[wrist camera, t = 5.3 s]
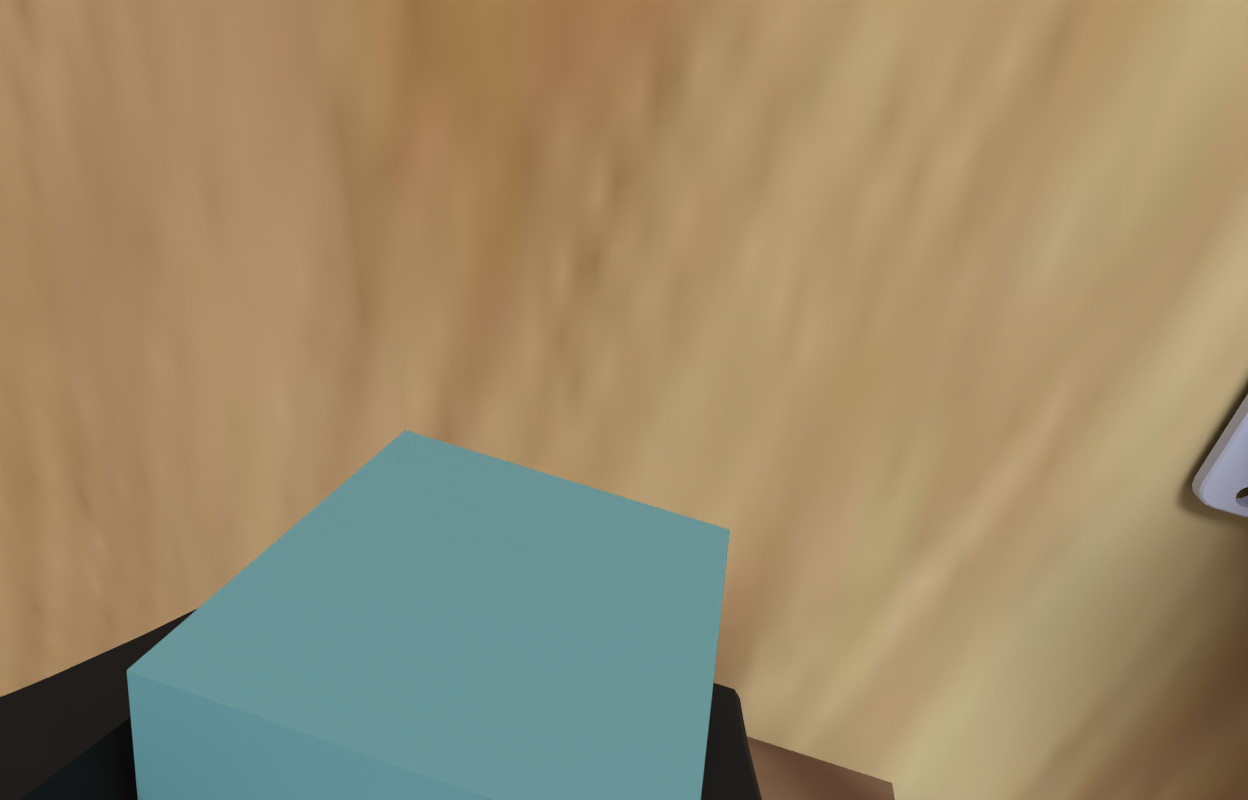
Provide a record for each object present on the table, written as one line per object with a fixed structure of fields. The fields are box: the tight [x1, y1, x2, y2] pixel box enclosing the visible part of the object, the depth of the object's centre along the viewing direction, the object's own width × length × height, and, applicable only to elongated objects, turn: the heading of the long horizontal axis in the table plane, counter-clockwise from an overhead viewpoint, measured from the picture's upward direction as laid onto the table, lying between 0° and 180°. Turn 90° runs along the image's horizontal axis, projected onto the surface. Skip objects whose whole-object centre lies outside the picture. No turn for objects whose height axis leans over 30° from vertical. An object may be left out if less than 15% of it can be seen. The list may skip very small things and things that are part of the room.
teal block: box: [127, 430, 730, 800], centre depth 9 cm, size 5×5×5 cm
